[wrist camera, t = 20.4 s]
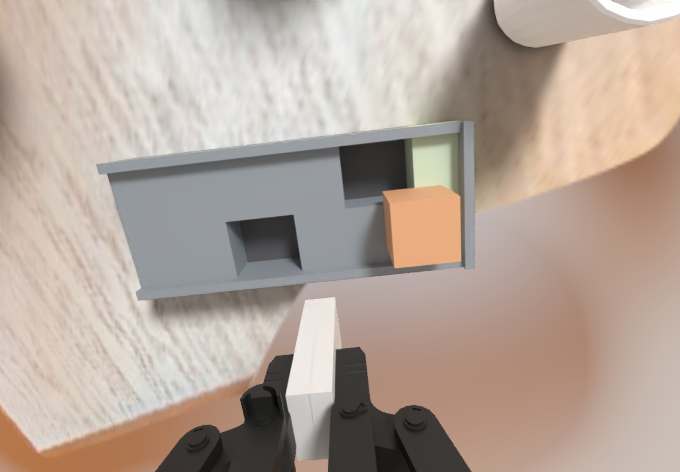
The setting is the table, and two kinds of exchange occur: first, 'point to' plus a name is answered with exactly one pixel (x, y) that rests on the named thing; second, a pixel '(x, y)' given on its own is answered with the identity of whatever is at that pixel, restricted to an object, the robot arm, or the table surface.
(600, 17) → the cup
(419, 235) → the block
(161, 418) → the table surface
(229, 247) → the box
